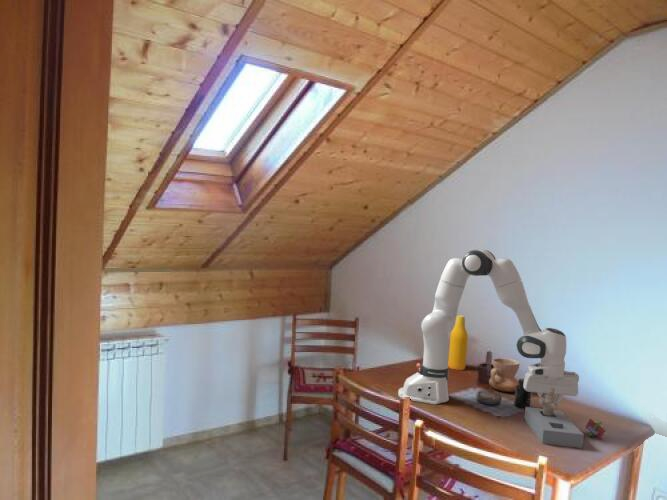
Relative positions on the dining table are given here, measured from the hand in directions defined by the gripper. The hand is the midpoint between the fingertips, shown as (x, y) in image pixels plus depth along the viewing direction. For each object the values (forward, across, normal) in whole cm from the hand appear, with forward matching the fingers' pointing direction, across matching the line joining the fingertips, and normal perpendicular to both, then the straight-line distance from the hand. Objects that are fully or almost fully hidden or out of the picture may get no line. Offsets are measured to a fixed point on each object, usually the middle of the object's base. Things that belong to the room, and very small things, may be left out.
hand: (548, 404), depth 201 cm
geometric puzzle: (+9, -16, +6) cm, 19 cm away
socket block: (+9, 0, +6) cm, 11 cm away
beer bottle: (+9, +25, -76) cm, 81 cm away
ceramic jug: (+9, +7, -44) cm, 46 cm away
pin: (+5, 0, 0) cm, 5 cm away
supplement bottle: (+9, +4, -21) cm, 23 cm away
